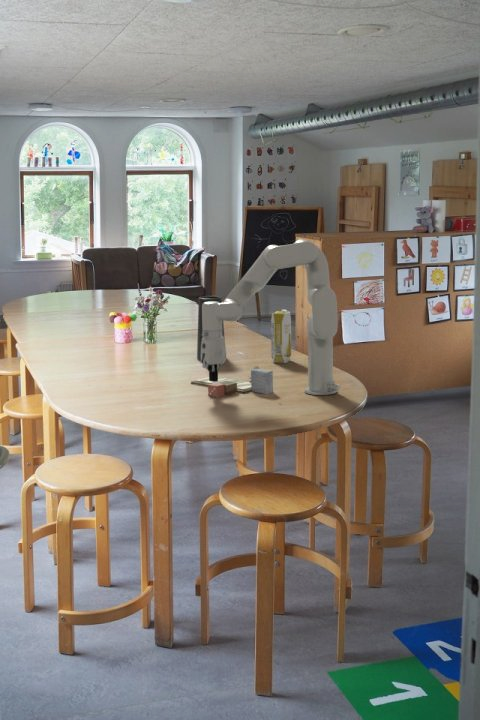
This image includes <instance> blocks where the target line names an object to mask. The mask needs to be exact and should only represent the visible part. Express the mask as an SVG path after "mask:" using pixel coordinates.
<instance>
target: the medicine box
mask: <svg viewBox="0 0 480 720" xmlns="http://www.w3.org/2000/svg"><path fill="white" fill-rule="evenodd" d="M273 374H274V373H273V370H268V369H262V368H260V369H255V370H253V369H252V370H250V377H251V379H250V383H251V392H254V393H258V394H259V393H260V394H264V395H268V394H272V392H273V393H274V375H273Z"/></svg>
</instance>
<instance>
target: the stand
mask: <svg viewBox="0 0 480 720" xmlns="http://www.w3.org/2000/svg"><path fill="white" fill-rule="evenodd" d="M219 383H221V384H225V395H224V396H230V395H234V394H237V393H238V392H237V383H235V382H230V381H223V382H219Z"/></svg>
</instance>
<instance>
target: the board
mask: <svg viewBox="0 0 480 720" xmlns="http://www.w3.org/2000/svg"><path fill="white" fill-rule="evenodd" d="M223 381H230V382H235V383H237V393H239V394H243V395H244V394H247V393H251V392H252V391H251V382H249V381H243V380H238V379H237V380H236V379H231V378H227V377H220V376H218V381H216V382H212V381H209V376H208V377H207V376H206V377H203V378H199V379H196V380H192V381H190V384H191V385H192V384H193V385H197V386H203V387H207V388H208V385H209V384H213V383H219V382H223Z"/></svg>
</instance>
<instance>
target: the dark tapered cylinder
mask: <svg viewBox="0 0 480 720" xmlns="http://www.w3.org/2000/svg"><path fill="white" fill-rule="evenodd" d="M209 301H216V302H220V303H223V299H222V297H221V296H217V295H204V296H200V297H198V304H197V305H198V307H197V310H198V312H197V313H198V314H197V344H196V346H197V348H196V349H197V350H196V360H198V361H200V362H201V342H202V338H203V336H202V333H203V329H202V328H203V327H202V304H203V303H204V302H209ZM224 327H225V325H224V321H222V336H223V337H224V340H225V341H226V339H225V338H226V337H225V328H224Z"/></svg>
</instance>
